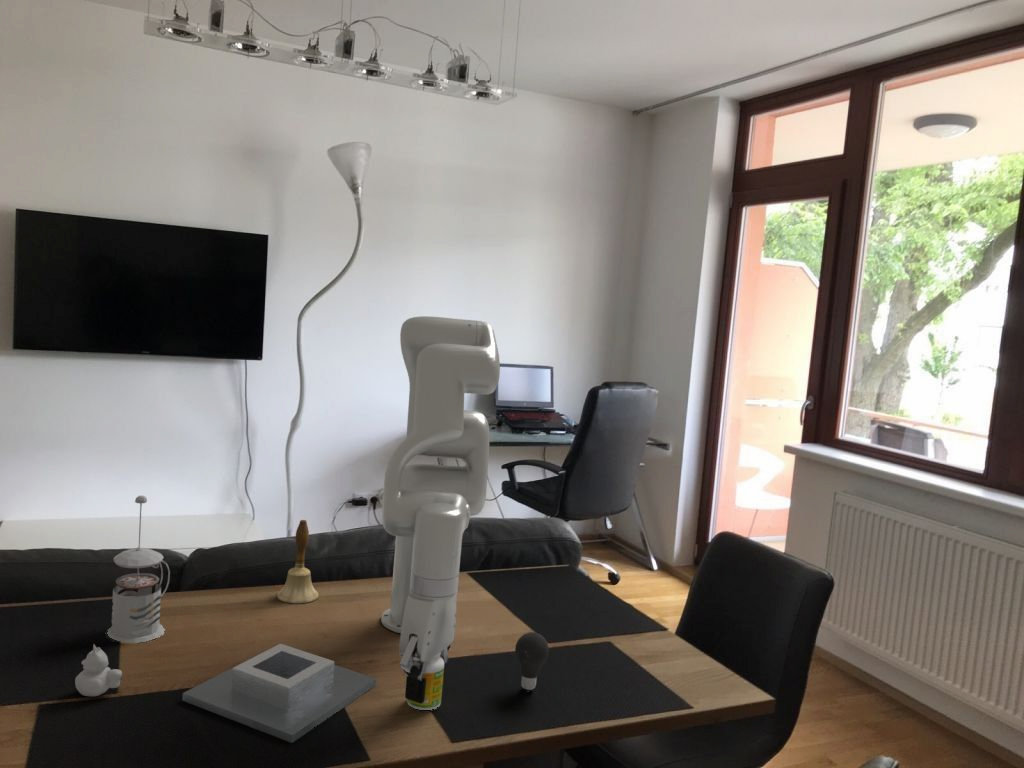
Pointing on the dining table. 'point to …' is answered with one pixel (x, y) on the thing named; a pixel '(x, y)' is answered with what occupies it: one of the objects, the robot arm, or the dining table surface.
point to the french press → (137, 623)
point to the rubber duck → (97, 674)
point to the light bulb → (531, 657)
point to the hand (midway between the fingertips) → (424, 691)
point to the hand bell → (299, 573)
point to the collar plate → (273, 714)
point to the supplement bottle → (431, 683)
